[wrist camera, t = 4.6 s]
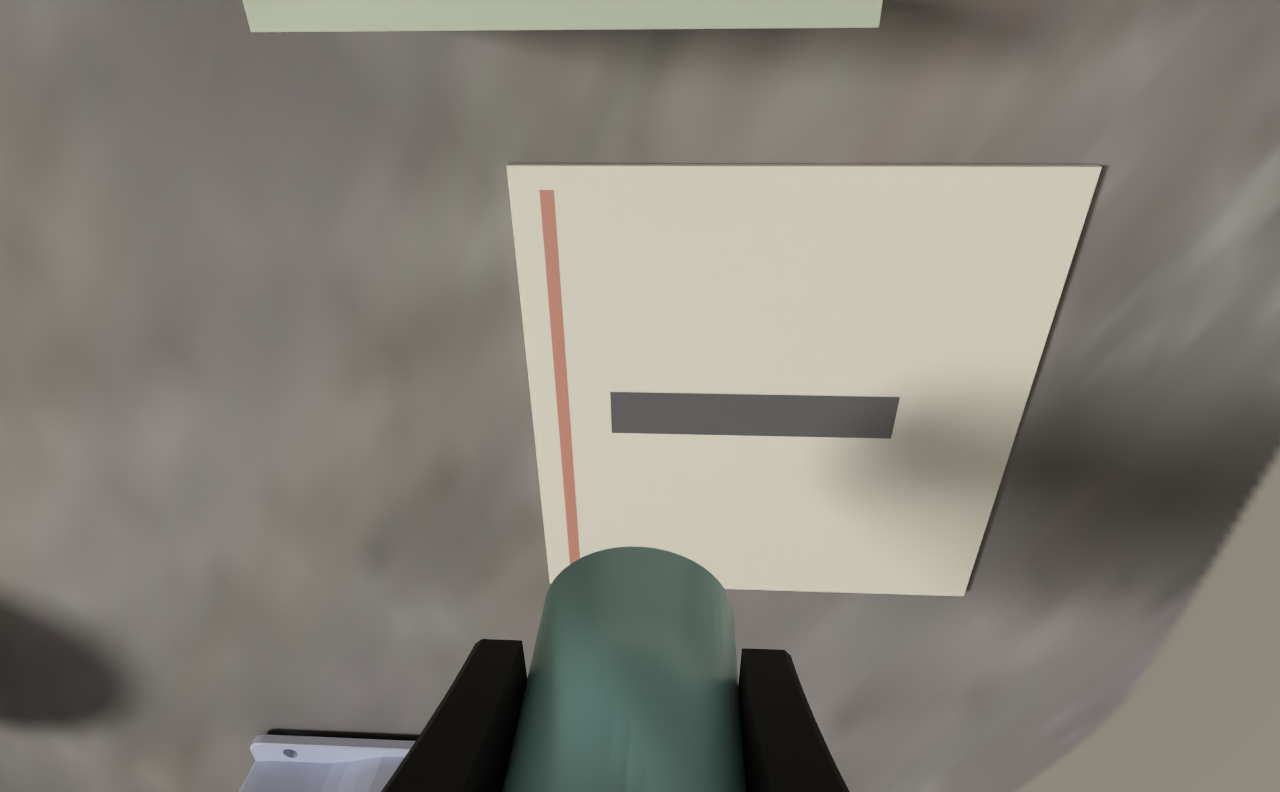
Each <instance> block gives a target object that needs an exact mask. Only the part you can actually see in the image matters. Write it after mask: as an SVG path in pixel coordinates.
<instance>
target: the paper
mask: <svg viewBox="0 0 1280 792" xmlns="http://www.w3.org/2000/svg"><path fill="white" fill-rule="evenodd" d="M506 166H507V175H508V185H509V195H510V204H511V214H512V223H513V233H514V243H515V252H516V262H517V272H518V281H519V291H520V301H521V310H522V320H523V330H524V339H525V349H526V358H527V368H528V378H529V387H530V397H531V407H532V416H533V426H534V436H535V445H536V455H537V465H538V474H539V484H540V494H541V503H542V513H543V522H544V532H545V542H546V551H547V561H548V571H549V580H550V583H552V582H553V581H554V579H555V578H556V577H557V576H558V575H559V574H560V572H561V571H562V570H563V569H565V568H566V567H567V566H569V565H570V564H571V563H573V562H575V561H576V560H578V559H580V558H582V557H584V556H587V555H589V554H591V553H594V552H598V551H601V550H605V549H611V548H616V547H630V546H631V547H649V548H656V549H661V550H665V551H669V552H672V553H675V554H678V555H681V556H684V557H686V558H688V559H690V560H692V561H694V562H696V563H697V564H699V565H701V566H702V567H704V568H705V569H706V570H707V571H709V572H710V573H711V574H712V575H713V576H714V577H715V578H716V579H717V580H718V581H719V582H720V583H721V585H722V586H723V587H724V589H746V590H778V591H810V592H842V593H874V594H906V595H938V596H964V594H965V591H966V588H967V585H968V582H969V579H970V575H971V572H972V569H973V566H974V563H975V560H976V557H977V554H978V551H979V547H980V544H981V541H982V538H983V535H984V532H985V529H986V526H987V523H988V520H989V516H990V513H991V510H992V507H993V504H994V501H995V498H996V495H997V492H998V488H999V485H1000V482H1001V479H1002V476H1003V473H1004V470H1005V467H1006V464H1007V461H1008V457H1009V454H1010V451H1011V448H1012V445H1013V442H1014V439H1015V436H1016V433H1017V430H1018V426H1019V423H1020V420H1021V417H1022V414H1023V411H1024V408H1025V405H1026V402H1027V398H1028V395H1029V392H1030V389H1031V386H1032V383H1033V380H1034V377H1035V374H1036V371H1037V367H1038V364H1039V361H1040V358H1041V355H1042V352H1043V349H1044V346H1045V343H1046V339H1047V336H1048V333H1049V330H1050V327H1051V324H1052V321H1053V318H1054V315H1055V312H1056V308H1057V305H1058V302H1059V299H1060V296H1061V293H1062V290H1063V287H1064V284H1065V281H1066V277H1067V274H1068V271H1069V268H1070V265H1071V262H1072V259H1073V256H1074V253H1075V249H1076V246H1077V243H1078V240H1079V237H1080V234H1081V231H1082V228H1083V225H1084V222H1085V218H1086V215H1087V212H1088V209H1089V206H1090V203H1091V200H1092V197H1093V194H1094V190H1095V187H1096V184H1097V181H1098V178H1099V175H1100V172H1101V169H1102V167H1101V166H1099V165H1050V164H580V163H508V164H507V165H506Z"/></svg>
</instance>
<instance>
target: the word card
mask: <svg viewBox="0 0 1280 792" xmlns="http://www.w3.org/2000/svg"><path fill="white" fill-rule="evenodd" d="M882 2H883V0H243V4H244V8H245V11H246V15H247V19H248V23H249V27H250V31H251V32H333V31H473V30H614V29H754V28H879V22H880V16H881V9H882Z"/></svg>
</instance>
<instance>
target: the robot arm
mask: <svg viewBox="0 0 1280 792" xmlns="http://www.w3.org/2000/svg"><path fill="white" fill-rule="evenodd" d="M526 684H527V674H526V667H525V660H524V652H523V645H522V641H518V640H490V639H481V640H480V641H479V642H477V643H476V644H475V645H474V647H473V649H472V651H471V653H470V654H469V656H468V658H467V660H466V661H465V663H464V665H463V667H462V668H461V670H460V672H459V673H458V675H457V677H456V679H455V680H454V682H453V684H452V685H451V687H450V689H449V690H448V692H447V693H446V695H445V697H444V698H443V700H442V701H441V703H440V705H439V706H438V708H437V709H436V711H435V712H434V714H433V716H432V717H431V719H430V720H429V722H428V723H427V725H426V726H425V728H424V730H423V731H422V733H421V734H420V736H419V737H418V738H417V740H416V741H409V740H385V739H362V738H338V737H315V736H291V735H268V734H264V735H259V736H257V737H256V738H255V740H254V741H253V743H252V745H251V747H250V750H251V752H252V754H253V756H254V758H255V760H256V762H255V763H254V765H253V766H252V768H251V770H250V772H249V774H248V775H247V777H246V779H245V781H244V783H243V785H242V786H241V788H240V790H239V792H502V790H503V786H504V782H505V777H506V773H507V768H508V764H509V759H510V755H511V750H512V746H513V741H514V737H515V733H516V728H517V724H518V719H519V715H520V710H521V706H522V701H523V697H524V692H525V688H526ZM738 687H739V700H740V713H741V726H742V738H743V751H744V762H745V775H746V788H747V792H849V790H848V788H847V786H846V784H845V782H844V780H843V778H842V776H841V774H840V772H839V770H838V768H837V766H836V764H835V762H834V760H833V758H832V756H831V754H830V752H829V749H828V747H827V745H826V743H825V741H824V738H823V736H822V734H821V732H820V729H819V727H818V725H817V723H816V721H815V718H814V716H813V714H812V711H811V709H810V706H809V704H808V702H807V699H806V697H805V694H804V692H803V689H802V687H801V684H800V681H799V678H798V676H797V673H796V670H795V667H794V664H793V661H792V658H791V656H790V655H789V654H788V653H787V652H786V651H785V650H770V649H742V655H741V665H740V675H739V685H738Z"/></svg>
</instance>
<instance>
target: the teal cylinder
mask: <svg viewBox="0 0 1280 792" xmlns="http://www.w3.org/2000/svg"><path fill="white" fill-rule="evenodd" d="M502 792H747V788H746V775H745V762H744V751H743V738H742V726H741V713H740V700H739V687H738V672H737V660H736V647H735V634H734V621H733V611H732V605H731V602H730V598H729V596H728V594H727V592H726V590H725V589H724V587H723V586H722V585H721V583H720V582H719V581H718V580H717V579H716V578H715V577H714V576H713V575H712V574H711V573H710V572H709V571H707V570H706V569H705V568H704V567H702V566H701V565H699V564H697V563H696V562H694V561H692V560H690V559H688V558H686V557H684V556H681V555H678V554H675V553H672V552H669V551H665V550H661V549H656V548H649V547H631V546H630V547H616V548H611V549H605V550H601V551H598V552H594V553H591V554H589V555H587V556H584V557H582V558H580V559H578V560H576V561H575V562H573V563H571V564H570V565H569V566H567V567H566V568H565V569H563V570H562V571H561V572H560V574H559V575H558V576H557V577H556V578H555V579H554V581H553V582H552V584H551V586H550V588H549V590H548V592H547V595H546V599H545V603H544V608H543V612H542V617H541V621H540V626H539V630H538V635H537V639H536V643H535V648H534V652H533V657H532V661H531V666H530V670H529V675H528V679H527V684H526V688H525V692H524V697H523V701H522V706H521V710H520V715H519V719H518V724H517V728H516V733H515V737H514V741H513V746H512V750H511V755H510V759H509V764H508V768H507V773H506V777H505V782H504V786H503V790H502Z"/></svg>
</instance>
